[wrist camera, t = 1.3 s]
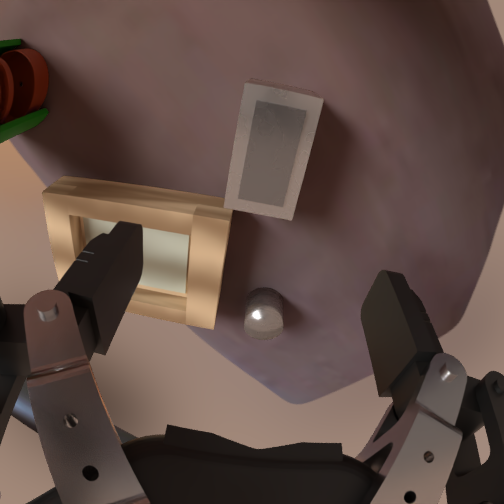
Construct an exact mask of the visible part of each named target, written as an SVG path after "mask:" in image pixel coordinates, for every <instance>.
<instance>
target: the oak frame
mask: <svg viewBox="0 0 504 504" xmlns="http://www.w3.org/2000/svg"><path fill="white" fill-rule="evenodd" d="M42 195H43V203H44V209H45V216H46V222H47V228H48V233H49V238H50V244H51V248H52V253H53V257H54V262H55V266H56V271H57V275H58V279H59V281H60V280H61V278H62V277H63V275H64V274H65V273H66V271H67V270H68V269H69V267H70V266H71V265H72V263H73V262H74V261H75V260H76V258H77V257H78V255H79V254H80V253H81V252H82V251H83V249H84V248H85V246H86V245H87V244H88V243H89V241H90V240H92V239H93V238H95V237H97V236H98V235H100V234H102V233H106V234H109V233H110V232H111V230H112V229H113V228H114V226H115V225H116V224H117V223H118V222H119V221H125V222H131V223H136V224H141V225H142V227H143V271H142V276H141V279H140V281H139V284H138V286H137V288H136V290H135V292H134V294H133V296H132V298H131V300H130V302H129V304H128V306H127V308H126V312H130V313H134V314H139V315H143V316H148V317H152V318H157V319H162V320H166V321H172V322H176V323H181V324H186V325H192V326H197V327H202V328H208V329H213V330H214V325H215V320H216V315H217V309H218V304H219V298H220V291H221V284H222V278H223V271H224V265H225V258H226V252H227V245H228V239H229V233H230V227H231V220H232V214H233V209H228V208H223V207H224V201H225V198H221V197H215V196H209V195H203V194H196V193H190V192H184V191H177V190H171V189H164V188H157V187H150V186H143V185H136V184H129V183H121V182H113V181H106V180H97V179H89V178H81V177H72V176H62V177H61V178H60V179H58V180H57V181H56V182H54V183H53V184H52V185H50V186H49V187H48V188H46V189H45V190H44V191H43V192H42Z"/></svg>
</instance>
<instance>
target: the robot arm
mask: <svg viewBox="0 0 504 504" xmlns="http://www.w3.org/2000/svg"><path fill="white" fill-rule="evenodd" d="M142 271H143V227H142V225H141V224H136V223H131V222H125V221H119V222H118V223H117V224H116V225H115V226H114V228H113V229H112V230H111V232H110V233H109V234H106V233H102V234H100V235H98V236H97V237H95V238H93V239H92V240H90V241H89V243H88V244H87V245H86V246H85V248H84V249H83V251H82V252H81V253H80V254H79V255H78V257H77V258H76V260H75V261H74V262H73V263H72V265H71V266H70V267H69V269H68V270H67V271H66V273H65V274H64V275H63V277H62V278H61V280H60V281H59V282H58V284H57V285H56V287H55V288H54V289H53V290H45V291H41V292H39V293H37V294H35V295H34V296H32V297H31V298H30V299H29V300H28V302H27V303H26V304H3V303H2V300H1V298H0V444H1V441H2V438H3V435H4V432H5V430H6V427H7V424H8V421H9V419H10V416H11V413H12V411H13V408H14V406H15V403H16V401H17V398H18V396H19V393H20V391H21V389H22V386H23V384H24V382H25V379H26V377H27V387H28V392H29V397H30V402H31V406H32V411H33V415H34V419H35V423H36V427H37V431H38V434H39V437H40V441H41V445H42V448H43V451H44V455H45V458H46V461H47V464H48V467H49V470H50V473H51V475H52V478H53V481H54V483H55V487H54V488H52V489H50V490H49V491H47V492H45V493H44V494H42V495H40V496H39V497H37V498H35V499H33V500H32V501H30V502H28V503H26V504H438V502H439V500H440V498H441V495H442V493H443V490H444V488H445V487H446V495H447V503H448V504H504V376H503V375H502V374H501V373H499V372H496V371H491V372H489V373H488V374H487V375H486V376H485V377H484V378H483V379H482V380H478V379H475V378H473V377H469V376H467V374H466V371H465V368H464V367H463V365H462V364H461V363H460V361H459V360H458V359H456V358H455V357H454V356H452V355H450V354H447V353H444V352H443V349H442V347H441V345H440V342H439V340H438V337H437V335H436V333H435V330H434V328H433V326H432V323H430V319H429V317H428V314H426V310H425V308H424V305H423V303H422V301H421V300H420V298H419V297H418V296H417V295H416V294H415V293H414V292H413V290H411V289H410V288H409V285H408V283H407V281H406V279H405V277H404V275H403V274H401V273H397V272H391V271H386V270H382V271H380V272H379V274H378V275H377V277H376V279H375V281H374V283H373V285H372V287H371V289H370V291H369V293H368V295H367V297H366V299H365V301H364V303H363V305H362V309H361V321H362V325H363V329H364V333H365V337H366V341H367V345H368V350H369V354H370V358H371V362H372V367H373V371H374V376H375V380H376V385H377V390H378V395H379V397H392V399H393V402H392V403H391V405H389V407H388V409H387V410H386V412H385V414H384V416H383V418H382V419H381V421H380V423H379V425H378V426H377V428H376V430H375V431H374V433H373V435H372V436H371V438H370V440H369V441H368V443H367V444H366V446H365V447H364V449H363V450H362V451H361V452H360V453H359V454H358V455H357V456H356V457H355V458H352V457H350V456H347V455H344V454H342V444H341V443H305V442H301V443H296V444H290V445H285V446H279V447H272V448H266V449H254V448H251V447H248V446H245V445H242V444H239V443H237V442H234V441H231V440H228V439H226V438H223V437H221V436H218V435H216V434H213V433H209V432H203V431H198V430H192V429H187V428H182V427H177V426H172V425H167V428H166V433H165V435H150V436H144V437H140V438H136V439H133V440H130V441H127V442H125V443H123V444H122V443H121V441H120V439H119V436H118V434H117V432H116V430H115V427H114V425H113V423H112V421H111V419H110V416H109V413H108V411H107V409H106V406H105V404H104V401H103V398H102V396H101V393H100V391H99V388H98V385H97V382H96V380H95V377H94V374H93V371H92V368H91V365H90V360H91V357H92V355H93V353H94V352H95V353H99V354H102V355H106V353H107V351H108V348H109V346H110V343H111V341H112V339H113V337H114V335H115V332H116V330H117V328H118V326H119V324H120V321H121V319H122V317H123V315H124V313H125V311H126V308H127V306H128V304H129V302H130V300H131V298H132V296H133V294H134V292H135V290H136V288H137V286H138V284H139V281H140V279H141V276H142ZM484 425H485V429H486V433H487V437H488V441H489V445H490V456H489V458H488V460H487V461H486V462H485V463H484V464H482V465H481V463H480V458H479V453H478V449H477V444H476V440H475V436H474V433H475V432H476V431H478V430H479V429H480V428H482V427H483V426H484ZM0 498H1V493H0Z"/></svg>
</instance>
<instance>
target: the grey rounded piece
mask: <svg viewBox="0 0 504 504" xmlns="http://www.w3.org/2000/svg"><path fill="white" fill-rule="evenodd" d="M244 329H245V331H246V333H247V334H248V335H249V336H251V337H253V338H255V339H259V340H269V339H273V338H275V337H277V336H279V335H280V334H281V332H282V331H283V300H282V296H281V295H280V294H279V293H278V292H277V291H276V290H274V289H271V288H258V289H255V290H253V291H252V292H250V293H249V295H248V296H247V301H246V312H245V322H244Z"/></svg>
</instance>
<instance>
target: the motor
mask: <svg viewBox="0 0 504 504" xmlns="http://www.w3.org/2000/svg"><path fill="white" fill-rule="evenodd" d="M19 45H21V39H13V40H3V41H0V143H2V142H4V141H6V140H8V139H10V138H12V137H14V136H16V135H18V134H20V133H22V132H25V131H27V130H29V129H31V128H33V127H35V126H37V125H38V124H39V123H40V122H42V121H43V120H44V118H45V117H46V116H47V114H48V113H49V112H48V110H47V109H46V108H44V109H41V110H39V109H40V107H41V106H42V104H43V102H44V100H45V97H46V95H47V91H48V85H49V73H48V68H47V64H46V62H45V60H44V58H43V57H42V55H41V54H40V53H39V52H37V51H36V50H33V49H18V50H13V49H14V48H15V47H17V46H19ZM20 82H23V86H22V87H21V86H20Z"/></svg>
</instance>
